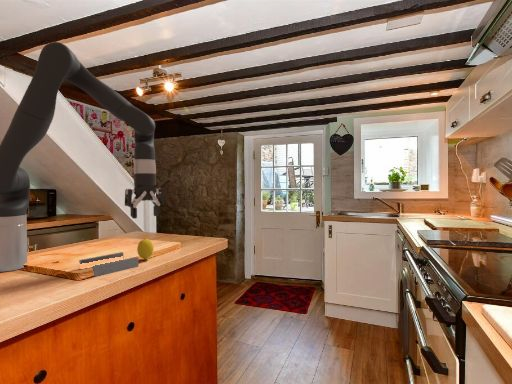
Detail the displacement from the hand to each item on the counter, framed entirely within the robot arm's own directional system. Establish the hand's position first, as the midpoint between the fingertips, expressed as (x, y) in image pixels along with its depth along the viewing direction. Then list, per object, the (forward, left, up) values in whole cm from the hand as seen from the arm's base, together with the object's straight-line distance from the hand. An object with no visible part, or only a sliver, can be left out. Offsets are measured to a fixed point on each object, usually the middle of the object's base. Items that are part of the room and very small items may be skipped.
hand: (145, 217), depth 106 cm
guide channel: (0, -13, -16) cm, 20 cm away
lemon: (0, 0, -16) cm, 16 cm away
